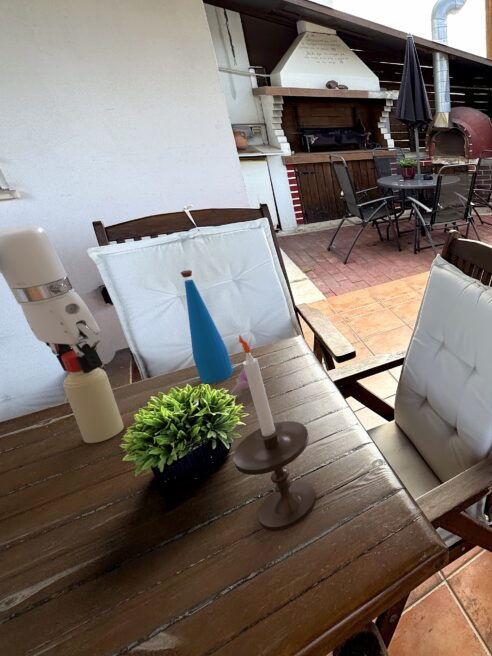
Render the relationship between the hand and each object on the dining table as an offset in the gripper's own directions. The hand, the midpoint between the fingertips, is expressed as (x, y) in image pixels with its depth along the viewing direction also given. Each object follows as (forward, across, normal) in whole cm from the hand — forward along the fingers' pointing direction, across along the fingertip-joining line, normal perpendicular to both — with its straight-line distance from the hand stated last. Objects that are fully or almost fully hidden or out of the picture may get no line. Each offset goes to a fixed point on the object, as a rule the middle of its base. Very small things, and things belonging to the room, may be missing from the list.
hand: (83, 367), depth 84 cm
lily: (+18, -21, -15) cm, 31 cm away
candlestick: (+17, -52, +12) cm, 56 cm away
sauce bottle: (+16, +1, +2) cm, 17 cm away
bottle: (+18, -6, -22) cm, 28 cm away
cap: (0, 0, 0) cm, 0 cm away
